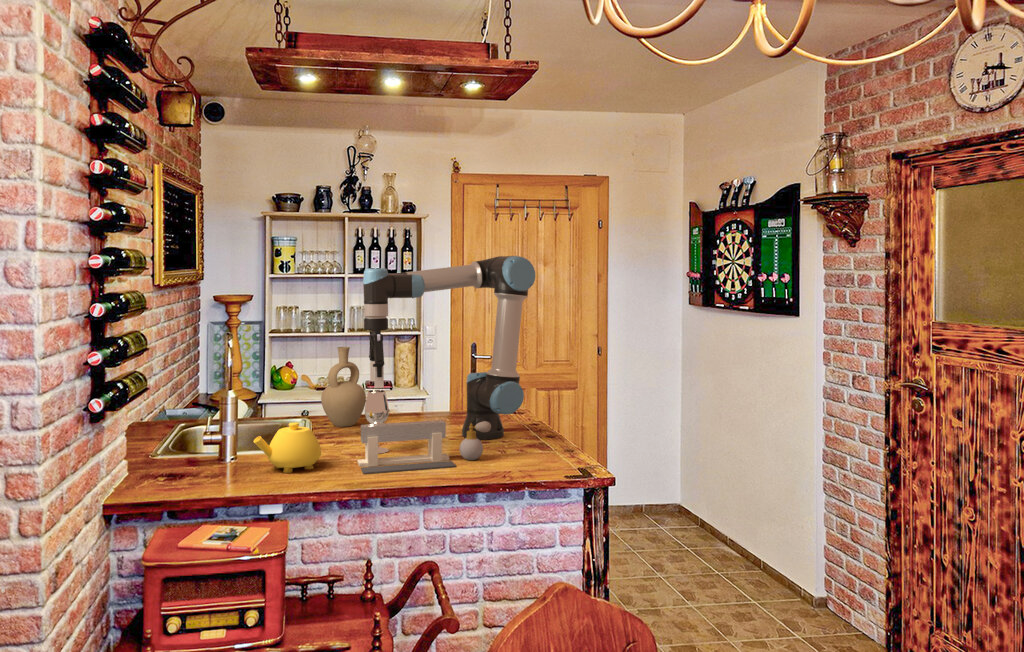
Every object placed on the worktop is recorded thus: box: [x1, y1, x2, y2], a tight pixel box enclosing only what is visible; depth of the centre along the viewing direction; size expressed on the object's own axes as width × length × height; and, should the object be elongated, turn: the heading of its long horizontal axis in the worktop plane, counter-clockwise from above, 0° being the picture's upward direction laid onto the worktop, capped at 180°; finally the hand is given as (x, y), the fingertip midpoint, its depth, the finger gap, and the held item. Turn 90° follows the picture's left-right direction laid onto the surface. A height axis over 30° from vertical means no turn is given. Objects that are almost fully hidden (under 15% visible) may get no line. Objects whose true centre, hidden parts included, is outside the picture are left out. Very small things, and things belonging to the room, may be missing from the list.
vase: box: [320, 346, 367, 428], centre depth 299 cm, size 17×17×30 cm
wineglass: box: [364, 389, 390, 455], centre depth 258 cm, size 8×8×20 cm
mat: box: [360, 460, 457, 475], centre depth 238 cm, size 28×6×1 cm, turn 108°
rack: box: [357, 432, 450, 468], centre depth 245 cm, size 28×6×9 cm, turn 108°
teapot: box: [253, 421, 322, 474], centre depth 236 cm, size 20×16×14 cm
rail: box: [360, 419, 447, 444], centre depth 245 cm, size 26×4×5 cm, turn 108°
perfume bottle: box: [459, 421, 491, 461], centre depth 249 cm, size 8×10×12 cm
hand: (376, 384), depth 249 cm, fingers open, 13 cm apart
